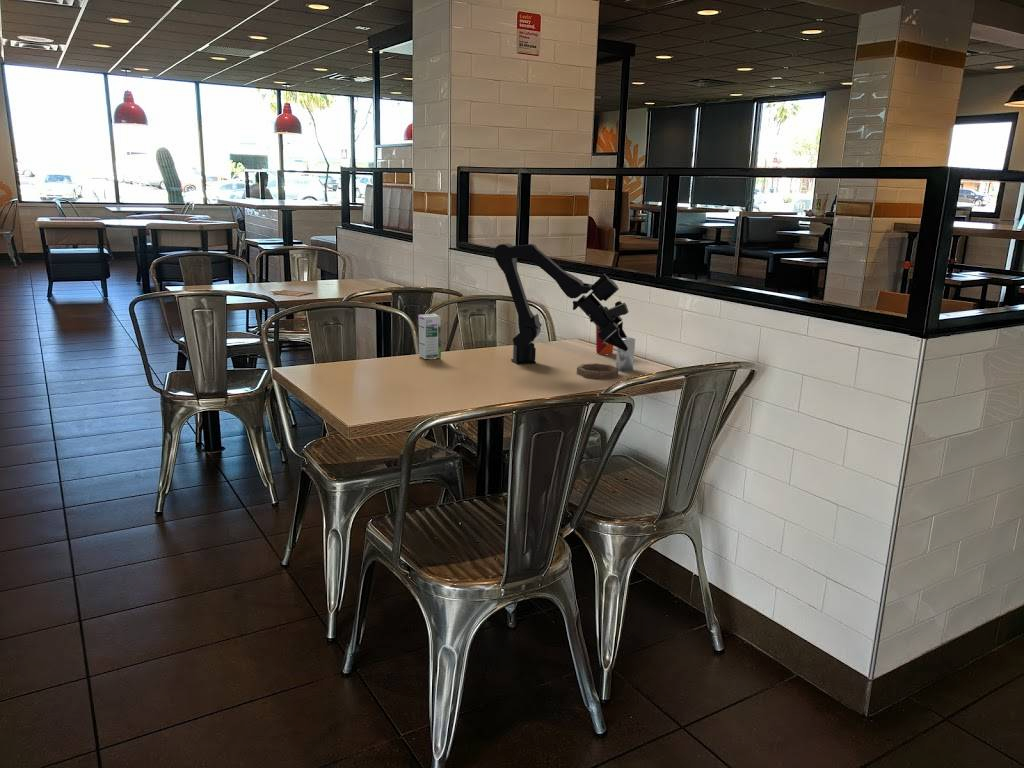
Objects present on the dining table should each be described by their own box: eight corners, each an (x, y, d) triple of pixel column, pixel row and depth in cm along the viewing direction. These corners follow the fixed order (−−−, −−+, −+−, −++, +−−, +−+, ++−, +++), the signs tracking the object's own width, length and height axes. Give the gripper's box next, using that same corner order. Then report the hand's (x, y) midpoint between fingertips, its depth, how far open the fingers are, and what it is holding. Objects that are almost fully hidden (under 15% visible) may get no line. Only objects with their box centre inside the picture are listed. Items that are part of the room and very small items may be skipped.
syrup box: (425, 360, 251) (424, 316, 247) (418, 356, 256) (418, 313, 252) (441, 359, 253) (441, 315, 250) (434, 355, 258) (434, 313, 255)
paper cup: (608, 356, 263) (610, 316, 260) (589, 353, 268) (591, 313, 264) (619, 353, 269) (621, 313, 266) (600, 350, 274) (602, 311, 270)
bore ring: (588, 379, 230) (588, 373, 229) (571, 371, 241) (572, 364, 240) (623, 377, 234) (624, 370, 233) (605, 368, 245) (605, 362, 244)
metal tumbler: (621, 371, 241) (622, 340, 239) (612, 368, 246) (614, 337, 244) (636, 370, 243) (638, 340, 240) (627, 367, 248) (629, 336, 245)
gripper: (610, 297, 231) (645, 335, 231) (616, 290, 248) (649, 325, 249) (583, 321, 234) (618, 359, 235) (591, 313, 252) (623, 348, 252)
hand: (628, 347), depth 242 cm, fingers open, 9 cm apart
